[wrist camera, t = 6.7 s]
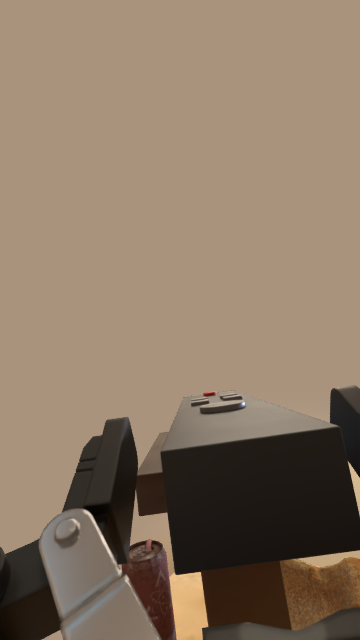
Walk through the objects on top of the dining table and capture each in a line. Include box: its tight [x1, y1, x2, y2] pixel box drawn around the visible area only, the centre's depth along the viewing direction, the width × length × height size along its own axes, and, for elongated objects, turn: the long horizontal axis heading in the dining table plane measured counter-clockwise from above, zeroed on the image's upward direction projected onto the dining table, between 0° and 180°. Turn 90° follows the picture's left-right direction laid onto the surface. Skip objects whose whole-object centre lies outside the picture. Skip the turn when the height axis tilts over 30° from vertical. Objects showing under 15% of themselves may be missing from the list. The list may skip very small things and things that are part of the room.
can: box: [122, 539, 177, 640], centre depth 44 cm, size 6×6×14 cm
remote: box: [160, 390, 360, 575], centre depth 17 cm, size 20×4×3 cm, turn 178°
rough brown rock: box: [280, 557, 360, 631], centre depth 36 cm, size 23×17×15 cm
